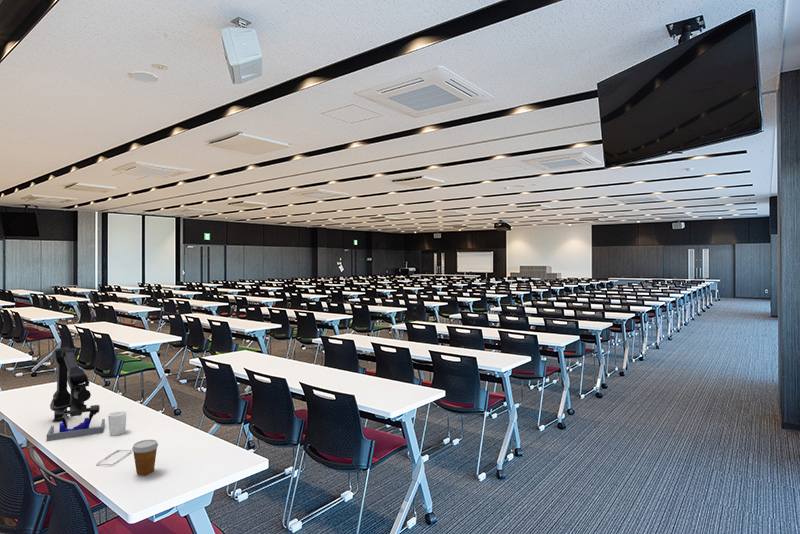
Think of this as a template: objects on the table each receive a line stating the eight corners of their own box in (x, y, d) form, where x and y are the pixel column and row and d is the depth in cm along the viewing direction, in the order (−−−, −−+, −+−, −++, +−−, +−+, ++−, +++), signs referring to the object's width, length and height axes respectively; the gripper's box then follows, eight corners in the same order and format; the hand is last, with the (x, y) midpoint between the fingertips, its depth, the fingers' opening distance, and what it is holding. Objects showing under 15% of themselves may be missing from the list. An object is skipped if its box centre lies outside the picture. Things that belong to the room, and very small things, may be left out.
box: (51, 431, 240) (51, 425, 240) (104, 424, 251) (104, 418, 251) (46, 441, 228) (46, 435, 228) (102, 432, 239) (102, 426, 239)
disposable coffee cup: (138, 467, 199) (138, 439, 199) (162, 466, 200) (162, 438, 200) (127, 478, 190) (127, 448, 190) (152, 477, 191) (152, 447, 190)
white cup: (130, 431, 240) (129, 412, 240) (115, 437, 233) (114, 417, 233) (119, 429, 244) (119, 410, 243) (104, 434, 236) (104, 414, 236)
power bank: (112, 467, 201) (133, 452, 216) (112, 464, 201) (133, 449, 216) (95, 467, 201) (117, 452, 216) (95, 463, 201) (117, 449, 216)
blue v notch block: (86, 427, 244) (87, 416, 243) (88, 431, 241) (89, 420, 240) (58, 433, 236) (59, 421, 235) (60, 437, 233) (60, 425, 232)
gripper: (52, 404, 229) (52, 436, 229) (97, 399, 238) (98, 429, 238) (55, 398, 239) (56, 429, 239) (99, 393, 248) (99, 423, 248)
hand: (77, 428), depth 241 cm, fingers open, 9 cm apart
